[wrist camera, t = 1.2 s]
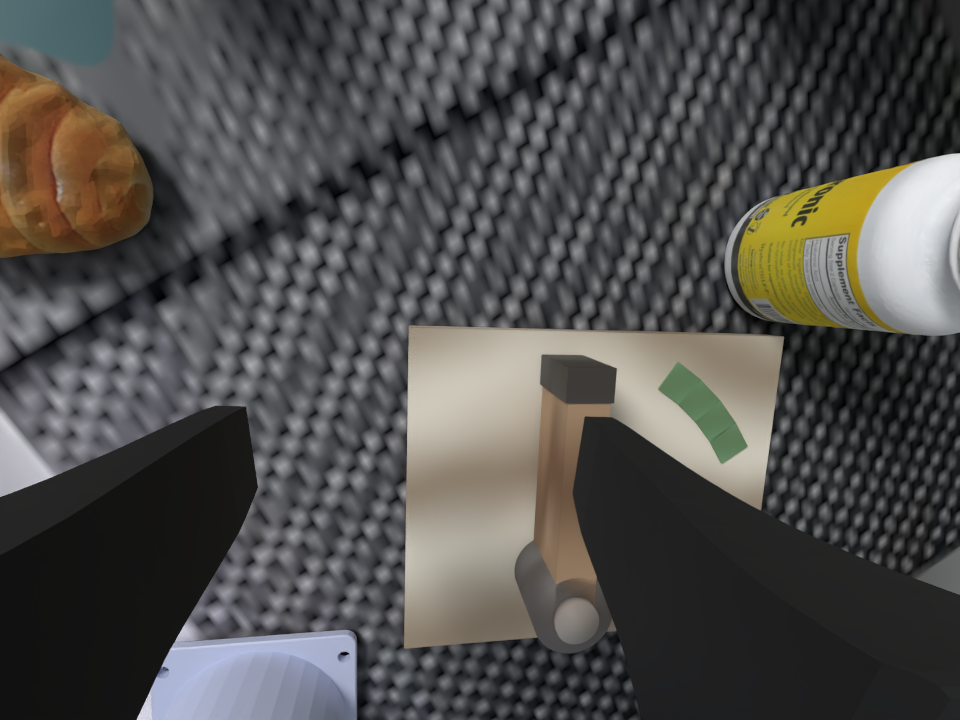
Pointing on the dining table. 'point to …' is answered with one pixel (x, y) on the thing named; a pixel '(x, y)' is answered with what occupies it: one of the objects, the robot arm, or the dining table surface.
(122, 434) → the dining table surface
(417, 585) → the dial board
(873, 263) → the supplement bottle
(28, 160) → the pastry
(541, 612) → the pointer lever
